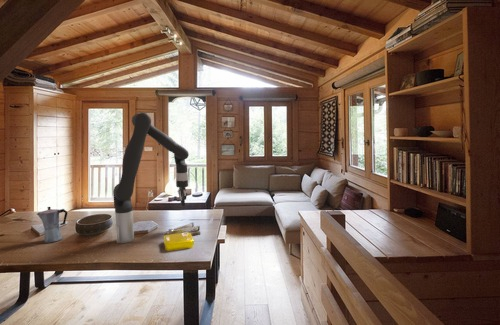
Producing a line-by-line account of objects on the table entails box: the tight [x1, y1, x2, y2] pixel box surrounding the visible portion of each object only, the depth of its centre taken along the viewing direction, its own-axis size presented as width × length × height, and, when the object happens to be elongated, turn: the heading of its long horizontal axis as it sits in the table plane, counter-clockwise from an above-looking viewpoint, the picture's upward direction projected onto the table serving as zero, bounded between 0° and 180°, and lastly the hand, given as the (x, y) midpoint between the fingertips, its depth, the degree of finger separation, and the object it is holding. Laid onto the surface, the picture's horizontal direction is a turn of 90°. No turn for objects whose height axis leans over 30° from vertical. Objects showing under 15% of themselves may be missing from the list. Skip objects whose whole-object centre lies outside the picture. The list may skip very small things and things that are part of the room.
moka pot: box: [36, 206, 68, 244], centre depth 163 cm, size 10×15×20 cm, turn 111°
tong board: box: [165, 230, 201, 237], centre depth 173 cm, size 18×12×2 cm, turn 120°
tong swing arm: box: [173, 222, 195, 230], centre depth 176 cm, size 15×2×2 cm, turn 142°
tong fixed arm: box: [168, 225, 200, 234], centre depth 172 cm, size 19×4×3 cm, turn 120°
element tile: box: [163, 232, 195, 252], centre depth 156 cm, size 15×15×5 cm
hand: (182, 205), depth 182 cm, fingers closed
